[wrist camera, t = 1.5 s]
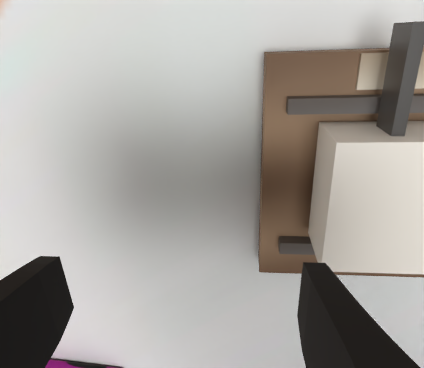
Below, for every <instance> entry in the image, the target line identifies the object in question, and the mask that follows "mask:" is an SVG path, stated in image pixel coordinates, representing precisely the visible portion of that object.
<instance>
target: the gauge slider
mask: <svg viewBox="0 0 424 368" xmlns="http://www.w3.org/2000/svg"><path fill="white" fill-rule="evenodd" d="M423 47H424V22H406V23H394V26H393V32H392V37H391V43H390V49H389V55H388V61H387V66H386V72H385V78H384V84H383V90H382V95H381V101H380V107H379V113H378V118H377V121H367V122H319V129H318V139H317V149H316V159H315V169H314V179H313V189H312V199H311V209H310V219H309V229H308V234H309V237H310V240H311V243H312V246H313V249H314V252H315V256H316V259H317V262H318V263H326V264H327V265H328V266H329V267H330V269H331V270H332V271H333V272H357V273H390V274H423V275H424V121H408V118H409V113H410V108H411V103H412V99H413V94H414V89H415V84H416V80H417V75H418V70H419V66H420V61H421V56H422V51H423Z"/></svg>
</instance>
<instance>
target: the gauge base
mask: <svg viewBox="0 0 424 368" xmlns="http://www.w3.org/2000/svg"><path fill="white" fill-rule="evenodd" d="M389 49H390V48H376V49H345V50H315V51H284V52H264V83H263V118H262V153H261V188H260V223H259V272H269V273H302V267H303V262H313V263H318V262H317V259H316V256H315V252H314V249H313V246H312V243H311V240H310V237H309V234H308V229H309V219H310V209H311V199H312V189H313V179H314V169H315V159H316V149H317V139H318V129H319V122H367V121H377V118H378V113H379V107H380V101H381V95H382V90H383V84H384V78H385V72H386V66H387V61H388V55H389ZM408 121H424V47H423V51H422V56H421V61H420V66H419V70H418V75H417V80H416V84H415V89H414V94H413V99H412V103H411V108H410V113H409V118H408ZM334 274H335V275H366V276H399V277H424V275H423V274H390V273H357V272H334Z"/></svg>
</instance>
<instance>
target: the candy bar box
mask: <svg viewBox="0 0 424 368" xmlns="http://www.w3.org/2000/svg"><path fill="white" fill-rule="evenodd" d="M45 368H119V367H112V366H104V365H96V364H87V363H79V362H69V361H61V360H52V359H50V360H49V362H48V364H47V365H46V367H45Z"/></svg>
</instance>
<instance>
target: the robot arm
mask: <svg viewBox="0 0 424 368" xmlns="http://www.w3.org/2000/svg"><path fill="white" fill-rule="evenodd" d="M73 309H74V306H73V303H72V299H71V296H70V292H69V289H68V285H67V282H66V278H65V275H64V271H63V268H62V264H61V261H60V257H50V256H40V257H38V258H36V259H34V260H33V261H31V262H29V263H27V264H26V265H24V266H22V267H21V268H19V269H18V270H16V271H14V272H13V273H11V274H10V275H8V276H6V277H5V278H3V279H2V280H0V368H45V367H46V365H47V364H48V362H49V360H50V358H51V356H52V355H53V353H54V351H55V349H56V347H57V346H58V344H59V342H60V340H61V338H62V335H63V333H64V331H65V329H66V326H67V324H68V321H69V319H70V316H71V314H72V311H73ZM297 316H298V324H299V331H300V339H301V346H302V352H303V356H304V361H305V365H306V368H420V367H419V366H418V365H417V364H416V363H415V362H414V361H413V360H412V359H411V358H410V357H409V356H408V355H407V354H406V353H405V352H404V351H403V350H402V349H401V348H400V347H399V346H398V345H397V344H396V343H395V342H394V341H393V340H392V339H391V338H390V337H389V336H388V335H387V334H386V333H385V331H384V330H383V329H382V328H381V327H380V326H379V325H378V324H377V323H376V322H375V321H374V319H373V318H372V317H371V316H370V315H369V314H368V313H367V312H366V311H365V309H364V308H363V307H362V306H361V305H360V304H359V303H358V301H357V300H356V299H355V298H354V297H353V296H352V294H351V293H350V292H349V291H348V290H347V288H346V287H345V286H344V285H343V284H342V282H341V281H340V280H339V279H338V277H337V276H336V275H335V274H334V272H333V271H332V270H331V269H330V267H329V266H328V265H327V264H326V263H313V262H303V267H302V277H301V287H300V296H299V306H298V315H297Z"/></svg>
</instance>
